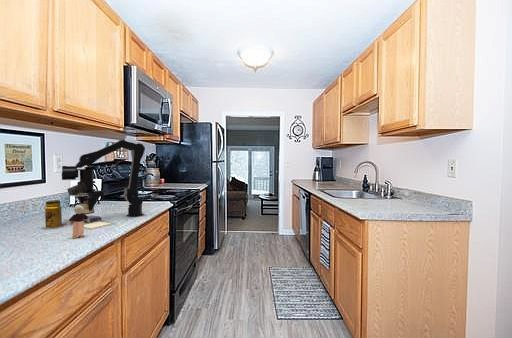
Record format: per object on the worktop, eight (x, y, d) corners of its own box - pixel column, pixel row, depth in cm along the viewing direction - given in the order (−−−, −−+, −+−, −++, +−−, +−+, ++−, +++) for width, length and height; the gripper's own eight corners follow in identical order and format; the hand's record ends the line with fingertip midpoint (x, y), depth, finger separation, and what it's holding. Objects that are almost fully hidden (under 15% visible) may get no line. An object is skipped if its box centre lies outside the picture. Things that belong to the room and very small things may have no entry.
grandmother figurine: (71, 239, 106) (70, 206, 106) (66, 238, 108) (65, 205, 108) (92, 235, 113) (91, 204, 112) (87, 233, 115) (86, 203, 114)
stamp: (88, 212, 143) (88, 200, 142) (94, 212, 141) (94, 200, 140) (79, 213, 138) (79, 201, 138) (85, 214, 137) (85, 201, 136)
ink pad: (91, 218, 146) (91, 215, 146) (101, 219, 143) (101, 216, 143) (72, 222, 137) (72, 218, 137) (82, 223, 134) (82, 220, 134)
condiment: (41, 229, 123) (40, 202, 122) (49, 225, 131) (48, 199, 130) (60, 228, 125) (60, 201, 124) (67, 223, 133) (66, 198, 133)
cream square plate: (99, 221, 138) (99, 220, 138) (116, 223, 133) (116, 222, 133) (72, 227, 126) (72, 226, 126) (90, 229, 121) (90, 228, 121)
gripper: (58, 179, 136) (58, 211, 136) (82, 180, 128) (83, 214, 128) (80, 178, 146) (81, 208, 146) (105, 179, 138) (105, 210, 139)
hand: (87, 210), depth 140 cm, fingers closed on stamp, 4 cm apart
